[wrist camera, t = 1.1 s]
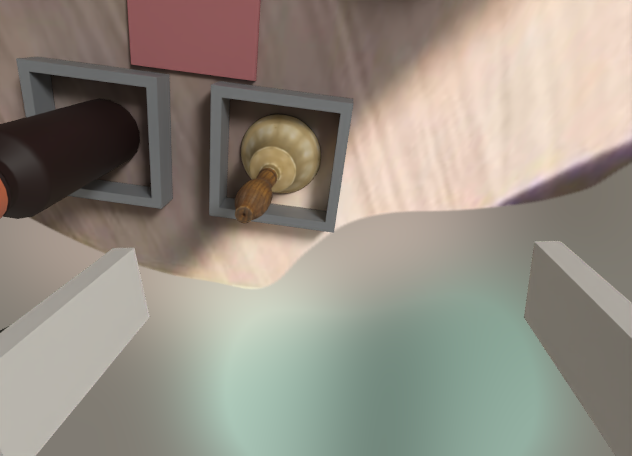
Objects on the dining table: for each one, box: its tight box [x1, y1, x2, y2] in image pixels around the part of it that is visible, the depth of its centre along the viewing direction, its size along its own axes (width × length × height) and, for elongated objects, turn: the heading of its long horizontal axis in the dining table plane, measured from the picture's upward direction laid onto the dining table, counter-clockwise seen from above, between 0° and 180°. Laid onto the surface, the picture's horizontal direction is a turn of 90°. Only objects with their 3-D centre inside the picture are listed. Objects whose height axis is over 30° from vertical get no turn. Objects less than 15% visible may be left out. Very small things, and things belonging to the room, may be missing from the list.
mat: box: [127, 0, 261, 81], centre depth 38 cm, size 12×12×1 cm
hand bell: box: [235, 114, 321, 223], centre depth 37 cm, size 8×8×16 cm
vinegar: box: [0, 99, 140, 219], centre depth 35 cm, size 7×7×20 cm
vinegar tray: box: [16, 57, 173, 209], centre depth 43 cm, size 13×13×3 cm
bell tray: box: [209, 81, 353, 232], centre depth 43 cm, size 13×13×3 cm
